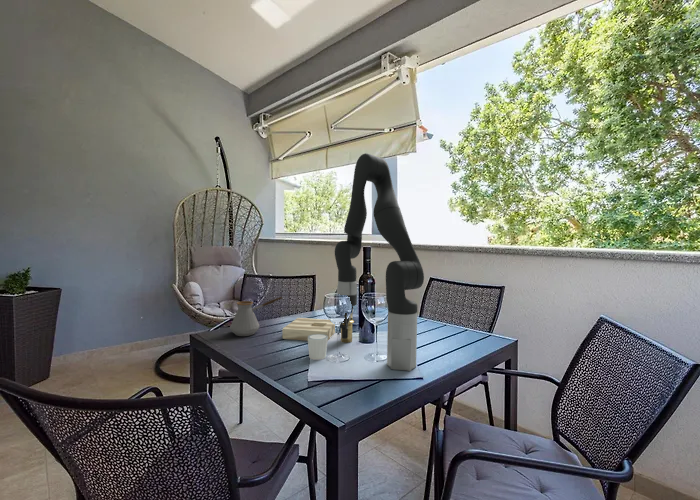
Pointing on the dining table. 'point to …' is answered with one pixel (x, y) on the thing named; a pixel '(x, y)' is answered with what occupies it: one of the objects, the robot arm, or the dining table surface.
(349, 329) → the bushing
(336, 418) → the dining table surface
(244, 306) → the coffee pot
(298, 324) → the jig
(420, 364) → the dining table surface
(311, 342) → the shot glass
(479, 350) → the dining table surface
